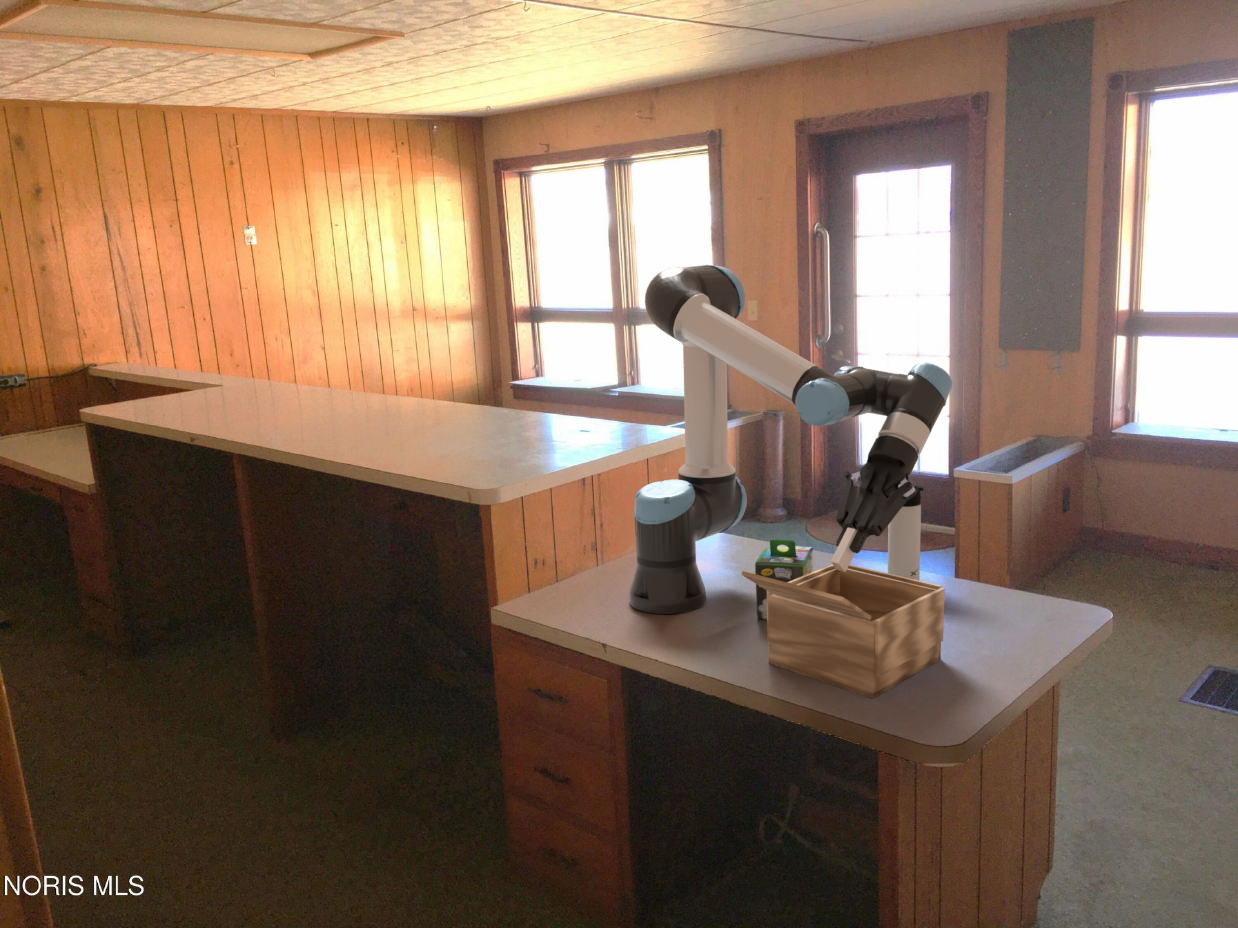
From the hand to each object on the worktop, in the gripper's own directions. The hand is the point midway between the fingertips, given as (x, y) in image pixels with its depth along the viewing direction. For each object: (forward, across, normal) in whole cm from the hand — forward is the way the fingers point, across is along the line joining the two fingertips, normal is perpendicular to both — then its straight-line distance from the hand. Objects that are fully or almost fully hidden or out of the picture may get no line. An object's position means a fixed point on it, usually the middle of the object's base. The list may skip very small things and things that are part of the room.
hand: (838, 566), depth 158 cm
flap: (+7, 0, 0) cm, 7 cm away
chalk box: (+2, +23, -23) cm, 33 cm away
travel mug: (-19, +16, -44) cm, 51 cm away
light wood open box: (+9, 0, -16) cm, 18 cm away
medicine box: (-6, +31, -32) cm, 45 cm away
